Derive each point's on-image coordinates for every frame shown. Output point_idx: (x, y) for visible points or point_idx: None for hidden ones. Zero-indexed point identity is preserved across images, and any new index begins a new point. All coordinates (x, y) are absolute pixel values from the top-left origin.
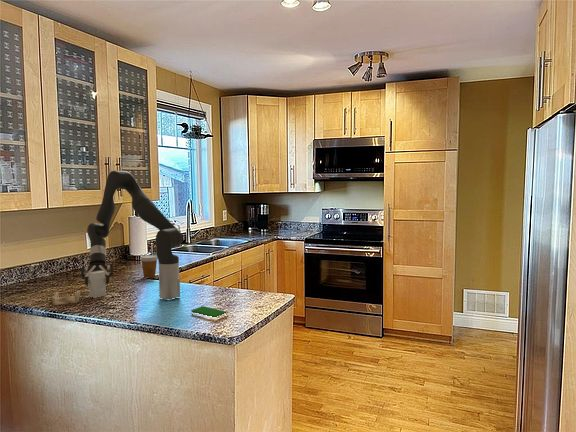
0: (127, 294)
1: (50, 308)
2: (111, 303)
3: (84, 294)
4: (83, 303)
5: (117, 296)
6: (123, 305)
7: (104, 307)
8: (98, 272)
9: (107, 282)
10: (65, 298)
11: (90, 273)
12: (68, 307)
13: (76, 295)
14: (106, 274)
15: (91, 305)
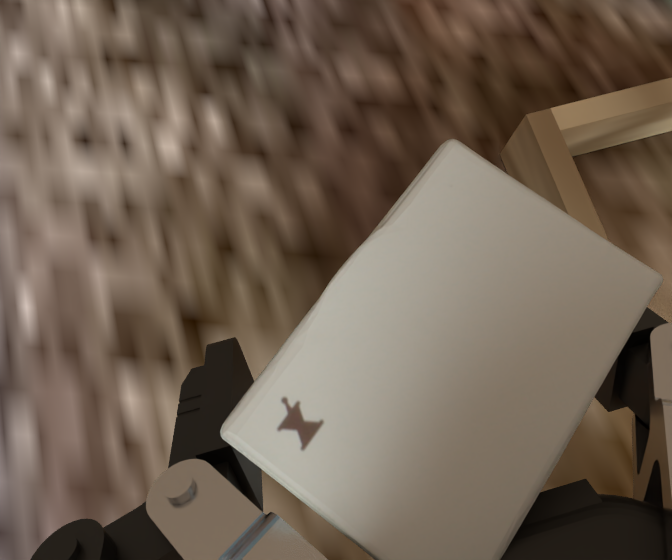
0: (42, 428)
1: (660, 16)
2: (158, 111)
3: (581, 477)
4: (430, 130)
5: (147, 349)
6: (36, 49)
7: (193, 10)
8: (370, 273)
9: (212, 346)
10: (633, 93)
11: (579, 223)
12: (514, 31)
13: (553, 147)
14: (217, 477)
15: (328, 68)
